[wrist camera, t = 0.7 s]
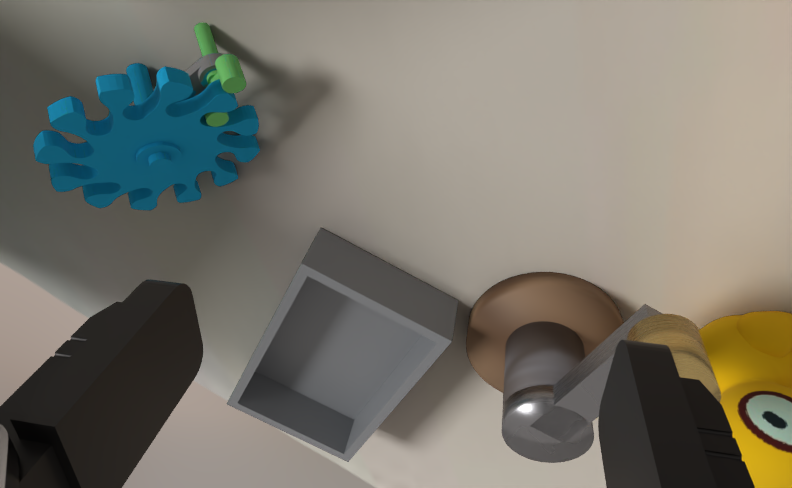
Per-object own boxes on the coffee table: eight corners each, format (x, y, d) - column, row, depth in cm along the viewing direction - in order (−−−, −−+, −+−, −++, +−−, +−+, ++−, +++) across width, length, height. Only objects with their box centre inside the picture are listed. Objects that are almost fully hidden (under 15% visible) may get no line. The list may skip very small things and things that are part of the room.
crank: (556, 453, 31) (559, 530, 27) (486, 418, 30) (481, 492, 27) (723, 323, 24) (756, 403, 21) (638, 275, 24) (657, 349, 20)
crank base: (523, 245, 31) (522, 319, 26) (658, 320, 32) (681, 404, 27) (441, 342, 36) (428, 418, 32) (560, 404, 37) (565, 487, 33)
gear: (173, 234, 33) (-14, 192, 25) (152, 151, 35) (-27, 85, 27) (320, 132, 30) (162, 40, 21) (286, 46, 32) (130, -71, 23)
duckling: (623, 357, 34) (652, 514, 26) (638, 286, 31) (676, 439, 23) (837, 374, 32) (941, 551, 24) (875, 300, 29) (1009, 474, 21)
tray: (320, 227, 33) (301, 263, 30) (458, 300, 34) (451, 341, 31) (247, 365, 41) (226, 404, 38) (360, 420, 42) (348, 462, 40)
